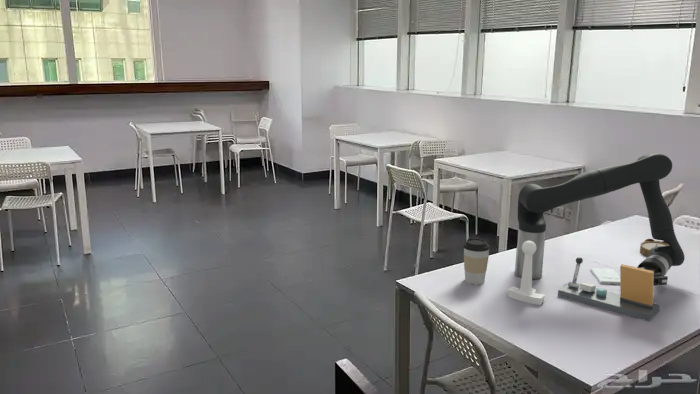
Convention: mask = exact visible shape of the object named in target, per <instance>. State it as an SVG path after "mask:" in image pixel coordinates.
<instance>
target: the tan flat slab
mask: <svg viewBox="0 0 700 394" xmlns="http://www.w3.org/2000/svg"><path fill="white" fill-rule="evenodd" d="M619 267H620V273H619V275H620V285H619V286H620V290H619V291H620V294H621V296H620V301H624V302H628V303H632V304H635V305H639V306H643V307H646V308H650V309H653V303H654V286H653V283H654V271H650V270H646V269H641V268H637V267H638V266H637V267H636V266H632V265H627V264H622V263H621V264H620V266H619Z"/></svg>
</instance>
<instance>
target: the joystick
mask: <svg viewBox="0 0 700 394" xmlns="http://www.w3.org/2000/svg"><path fill="white" fill-rule="evenodd" d="M536 248H537V247H536V244H535V243H534V242H533V241H525V242H524V243H523V245H522V250H523V252H524V254H525V257H524V265H523V272H522V277H521V280H520V288H518V287H516V286H511V287H510V288H508V292H507V297H510V298H512V299H514V300H518V301H519V302H522V303H523V302H524V303H527V304H531V305H539V306H540V305H542V303H543V302H544V301H545V297H546V296H545V294H542V293H537V289H536V288H533V279H532V256H533V254H534V253H535V251H536Z"/></svg>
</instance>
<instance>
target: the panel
mask: <svg viewBox="0 0 700 394" xmlns="http://www.w3.org/2000/svg"><path fill="white" fill-rule="evenodd" d="M569 282H572V281H571V280H570V281H569ZM569 282H567V283H566V284H565V285H563V286H562V287H560V288H559V289H558V290H557V296H558V297H562V298H565V299H569V300H572V301H576V302H579V303H583V304H587V305H590V306H593V307H598V308H601V309H604V310H607V311H612V312H614V313H617V314H622V315H625V316H628V317H629V316H630V317H632V318H635V319H636V318H637V319H639V320H643V321H646V322H651V321H652V320H653V319H654V317H656V315H657V314H658V313H659V312H660V309H661V304H658V303H656V302H655V303H654V302H653V309H650V308H646V307H643V306H639V305H635V304H632V303H628V302H624V301H620V296H621V293H617V292H613V291H609V290H607V294H606V296H605V297H601V296H598V295H596V291H597V289H598V288H597V287H596V289H595V291H592V292H588V291H585V290H581V289H579V288H580V284H581V283H578V282H576V284H579V288H578V289H576V288H572V287H568V283H569Z"/></svg>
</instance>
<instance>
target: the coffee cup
mask: <svg viewBox="0 0 700 394" xmlns="http://www.w3.org/2000/svg"><path fill="white" fill-rule="evenodd" d="M462 247H463V266H464V268H463V269H464V281H465V282H466V283H467V284H471V285H483V284H484V283H485V281H486V280H485V279H486V274H487V273H486V272H487V269H488V268H487V267H488V263H489V256H490V254H489V252H490V245H489V243H487V241H486V240H484V239H482V238H471V237H469V238H467V239H466V241H465V242H464V244H463V246H462Z"/></svg>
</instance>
